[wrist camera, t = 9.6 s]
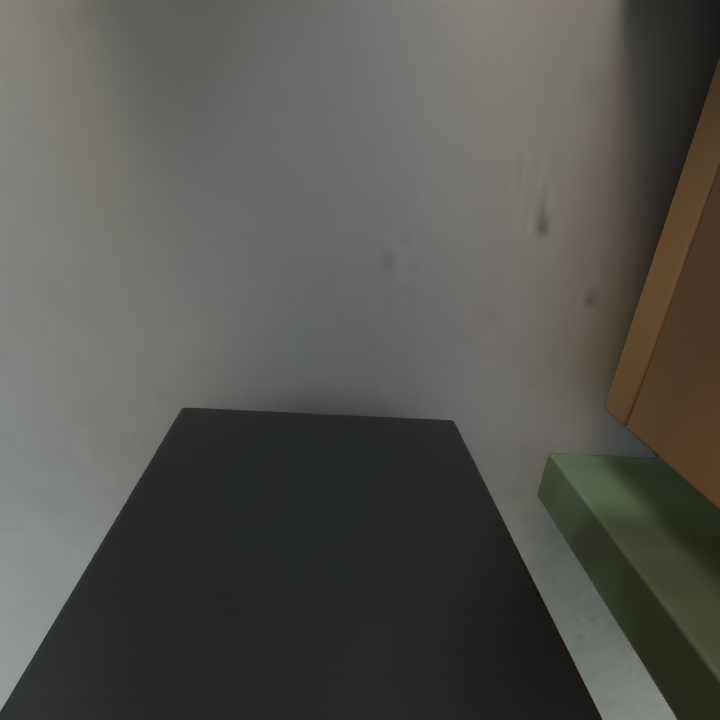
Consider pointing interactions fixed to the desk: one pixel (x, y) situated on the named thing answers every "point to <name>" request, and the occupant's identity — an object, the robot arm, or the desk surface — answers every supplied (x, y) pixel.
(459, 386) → the desk surface
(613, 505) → the drawer
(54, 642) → the card box
